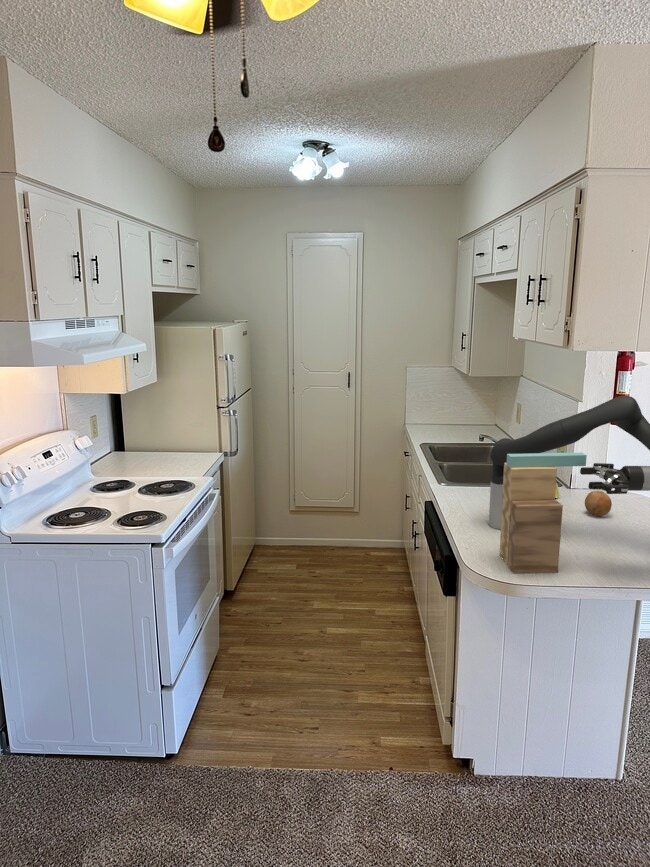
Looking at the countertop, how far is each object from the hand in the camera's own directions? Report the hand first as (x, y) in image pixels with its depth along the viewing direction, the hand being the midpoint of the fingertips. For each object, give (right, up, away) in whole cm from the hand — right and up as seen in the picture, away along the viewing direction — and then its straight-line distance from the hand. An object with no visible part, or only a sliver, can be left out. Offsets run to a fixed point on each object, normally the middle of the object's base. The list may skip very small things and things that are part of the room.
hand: (584, 478), depth 182 cm
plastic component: (+11, -14, +79) cm, 81 cm away
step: (-14, -29, +6) cm, 33 cm away
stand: (-14, -28, +14) cm, 34 cm away
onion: (+28, -19, +54) cm, 64 cm away
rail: (-9, +4, +7) cm, 12 cm away
